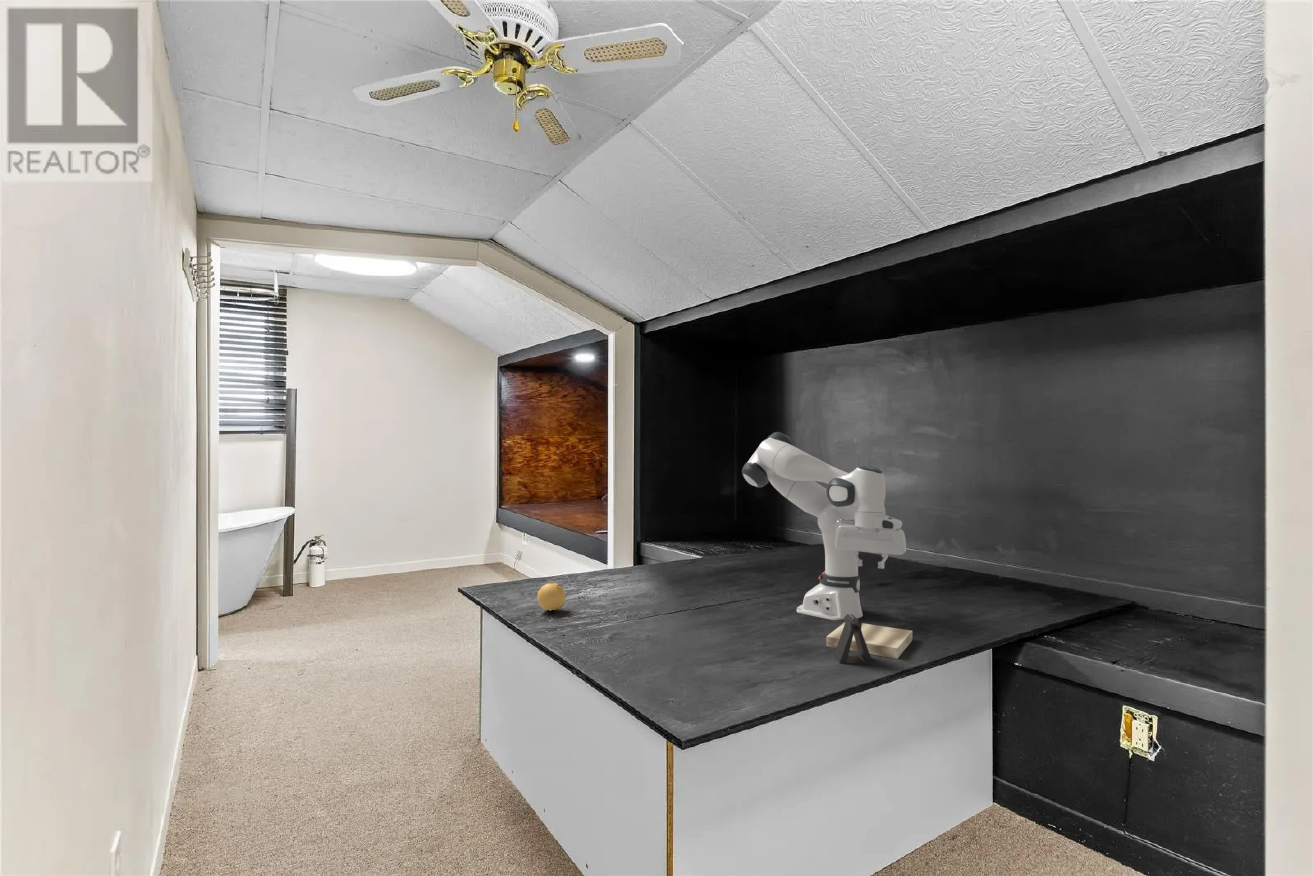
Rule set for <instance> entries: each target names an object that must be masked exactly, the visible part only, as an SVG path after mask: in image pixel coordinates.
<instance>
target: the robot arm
mask: <svg viewBox="0 0 1313 876" xmlns="http://www.w3.org/2000/svg"><path fill="white" fill-rule="evenodd" d="M741 473H742V474H741V475H742V477H743V478H744V479H745V481H746V482H747V483H748V484H749V485H751V486H754V487H755V488H763V487H765V486H766V485H768V484H769V483H770V484H771V485H772V486H773V488H774V489H775V490H776V491H777V492H779V494H780V495H782V496H783V497H784V498H786V499H787V500H788V501H789V502H791V503H792V504H793V505H795V506H796V507H798V508H799V509H800V510H802V511H803V512H805V513H807V514H810V515H812V516H813V517H816V518H817V526H818V528H819V530H820V532H821V537H822V542H823V547H824V556H825V557H824V561H825V562H824V564H825V565H824V567H825V568H824V571H823V572H822V573H821V574H820V575H819V576H818V580H819V584H817V585H815V586H813V588H811V589H810V590H808V591H807V592H806V593H805V595H804V597H803V601H802V604H800V605H799V606H797V607H796V612H797V613H798V614H801V615H802V614H803V615H808V616H811V617H812V616H813V617H817V618H821V619H827V620H831V621H841V620H844V618H845V616H846V615H847V614H849V615H850V616H851V617H852V618H853V619H854V617H853V616H852V615H854V616H855V617H856V618H857V619H860V618H862V617H863V615H864V614H863V611H862V607H861V601H860V593H859V592H860V590H861V589H860V586H861V581H860V575H859V567H863V559H860V558H859V554H860V553H859V552H863V553H872V554H873V553H875V554H881V558H882V560H881V561H878V562H877V565H878V566H877V569H882V570H883V569H885V562H886V560H887V559H888V558H889V555H893V556H894V555H897V556H902V555H904V554H906V552H907V539H906V534H905V532H904V530H903V529H902V526H903V521H902V520H900V519H897V518H895V517H892V516H889V515H886V514H887V513H886V506H885V500H886V479H885V474H884V472H883V471H882V470H881V469H880V468H878V467H874V466H867V465H860V466H857V467H856V468H854V470H852V471H851V472H849V471H847V470H844V469H842V468H840V467H837V466H835V465H833V464H830V463H828V462H826V461H823V460H821V459H819V458H818V457H816V456H813V455H811V454H810V453H807V452H806V451H804V450H802V449H800V448H798V447H796V446H795V444H794V442H793V441H792V440H791V438H790V437H789V436H788V435H787V434H784V433H783V432H781V431H775V432H773V433H772V434H769V435H768V436H767V438H766V439H764V440H763V441H761V443H760V444H759V446H758V447H757V448H756V450H755V451H754V453H753V454H752V455H751V457H750V458H749V460H748V461H747V462H745V464H744V465H743V467H742V469H741ZM818 482H819V483H818ZM820 483H824V484H827V485H826V487H824V486H822V485H821V484H820ZM851 614H852V615H851Z"/></svg>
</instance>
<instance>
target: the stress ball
mask: <svg viewBox="0 0 1313 876" xmlns="http://www.w3.org/2000/svg"><path fill="white" fill-rule="evenodd" d="M565 601H566V592H565V590H564V587H563V586H562V585H560V584H558V583H556V582H553V581H551V582H548V583H546V584H543V585H542V586H541V588H539V590H538V592H537V603H538V605H539V606H540V608H541V609H543V610H544V609H558V610H559V609H562V608H563V607H564V605H565Z"/></svg>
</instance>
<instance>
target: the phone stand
mask: <svg viewBox="0 0 1313 876" xmlns="http://www.w3.org/2000/svg"><path fill="white" fill-rule="evenodd" d="M851 615H852V614H851ZM852 616H853V617H854V619H853V618H852V617H851V616H850V615H849V614H847V615H846V616H845V618H844V619H843V621H844V622H845V625H844V628H843V631H842V633H841V636H840V639H839V642H838V645H837V647H836V648H835V650H834V653H833V657H834V658H835V659H836V661H837V662H838V663H839V664H846V665H847V664H849V665H850V664H854V665H855V664H871V665H872V664H873V663H874V662H873V659H872V656H871V654H870V653H869V651H868V648H867V645H866V642H865V640H864V637H863V634H862V631H861V627H862V624H861V623H862V622H861V621H860V620H859V618H856V617H855V616H854V615H852ZM853 635H854V637H855V641H856V645H857V649H858V652H857V653H858V655H849V652H850V646H851V642H852V639H853Z"/></svg>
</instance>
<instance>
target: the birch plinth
mask: <svg viewBox="0 0 1313 876" xmlns="http://www.w3.org/2000/svg"><path fill="white" fill-rule="evenodd" d="M861 624H862V627H861V631H862V634H863V637H864V640H865V642H866V645H867V648H868V651H869V653H870V655H874V656H879V657H880V656H881V657H884V658H885V657H886V658H891V659H896V660H897V659H898V658H899V657H900V656H901V655H902V654H903V652H905V650H906V648H907V647H909V645H910V644H911V643H912V641H913V630H909V629H903V628H897V627H896V628H895V627H889V626H882V625H874V624H869V623H863V622H861ZM844 625H845V621H844V622H843V623H842V624H840V625H839V626H838V627H837V628H835V629H834V630H833V631H832V632H830V633H828V635H827V636H826V642H825V645H826V648H827V647H828V648H832V649H834V648H835V649H836V647H837V645H838V642H839V639H840V636H841V633H842V631H843V628H844ZM850 651H851V652H856V653H859V652H858V649H857V645H856V641H855V637H854V635H853V639H852V642H851V646H850V650H849V652H850Z"/></svg>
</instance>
